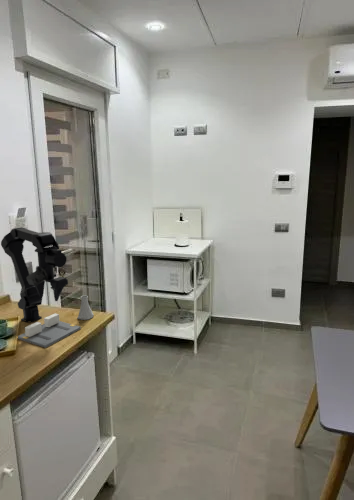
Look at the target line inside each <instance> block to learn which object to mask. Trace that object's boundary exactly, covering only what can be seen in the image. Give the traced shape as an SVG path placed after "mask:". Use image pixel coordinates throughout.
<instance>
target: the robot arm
mask: <svg viewBox="0 0 354 500" xmlns="http://www.w3.org/2000/svg"><path fill="white" fill-rule="evenodd" d="M25 241H26V242H29V243H31V244H32V246H34V247H35V249H34V253H36V254H37V260H38V261H37V262H38V265H36V267H35V271H33V272H32V273H30V271H29V268H28V266H27V263H26V261H25V258H24V255H23V251H24V248H25V247H24V243H25ZM0 245H1V248H2V249H3V251H4V253H5V254H6V255H8V256H9V258H10V259H11V262H12V265H13V267H14V270H15V273H16V275H17V279H18V281H19V284H20V286H21V289H20V293H19V296H20V299H19V300H18V302H17V306H18V309H20V310H22V311H23V312H22V313H23V317H22V318H20V321H24V322H26V323H30V324H32V323H34V322H35V321H36V322H37V320H40V319H42V316H40V313H39V311H40V310H39V306H41V305H42V303H43V297H44V294H45V293H44V290H45V285H46V282H47V283H49V284H50V286H51V287H49V288H50V289H51V290H53V291H52V292H53V297H54V302H58V301H59V299H60V296H61V294H62V292H63V290H64V288H65V287H67V286H68V285H69V279H68V278H67V277H62V276H58V277H57V274H56V273H55V270H54V268H56V267H57V268H62V267H65V265H66V263H67V256H66V254H65V253H62V252H63V251H62V249H60V246H59V243H58V242H57V241H56V238H55V236H54V235H53V234H52V233H51V232H48V231H46V232H45V231H43V232H37V231H34V230H30V229H27V228H25V227H23V226H21V227H15V228H14V227H13V228H12V229H11V230H10V231H9V232H8V233H7V234H5V235H4V236H3V238H2V239H1V241H0Z"/></svg>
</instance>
